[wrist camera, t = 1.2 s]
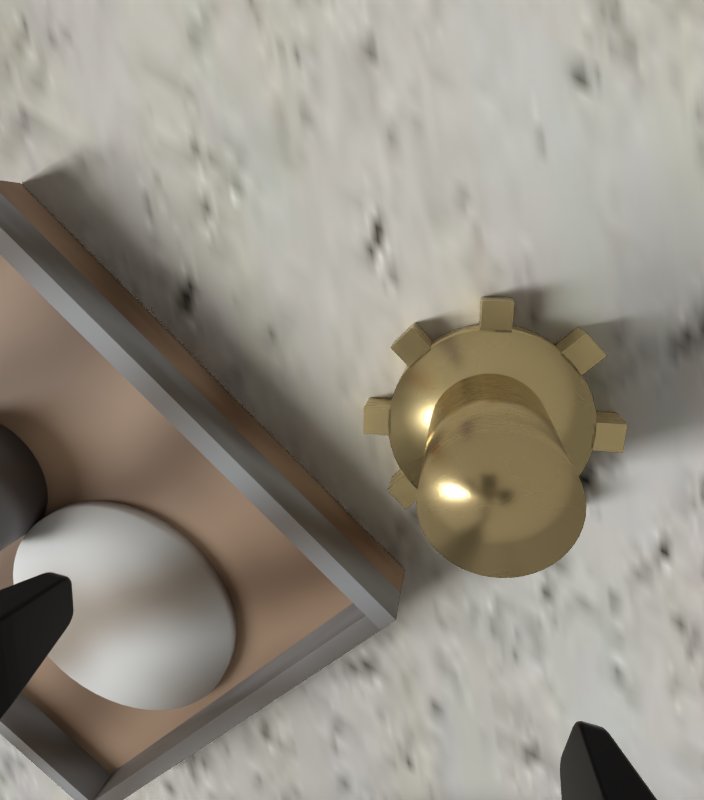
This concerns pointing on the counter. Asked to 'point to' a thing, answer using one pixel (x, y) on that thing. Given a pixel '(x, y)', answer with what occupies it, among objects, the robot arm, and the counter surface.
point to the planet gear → (495, 440)
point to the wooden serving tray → (153, 528)
